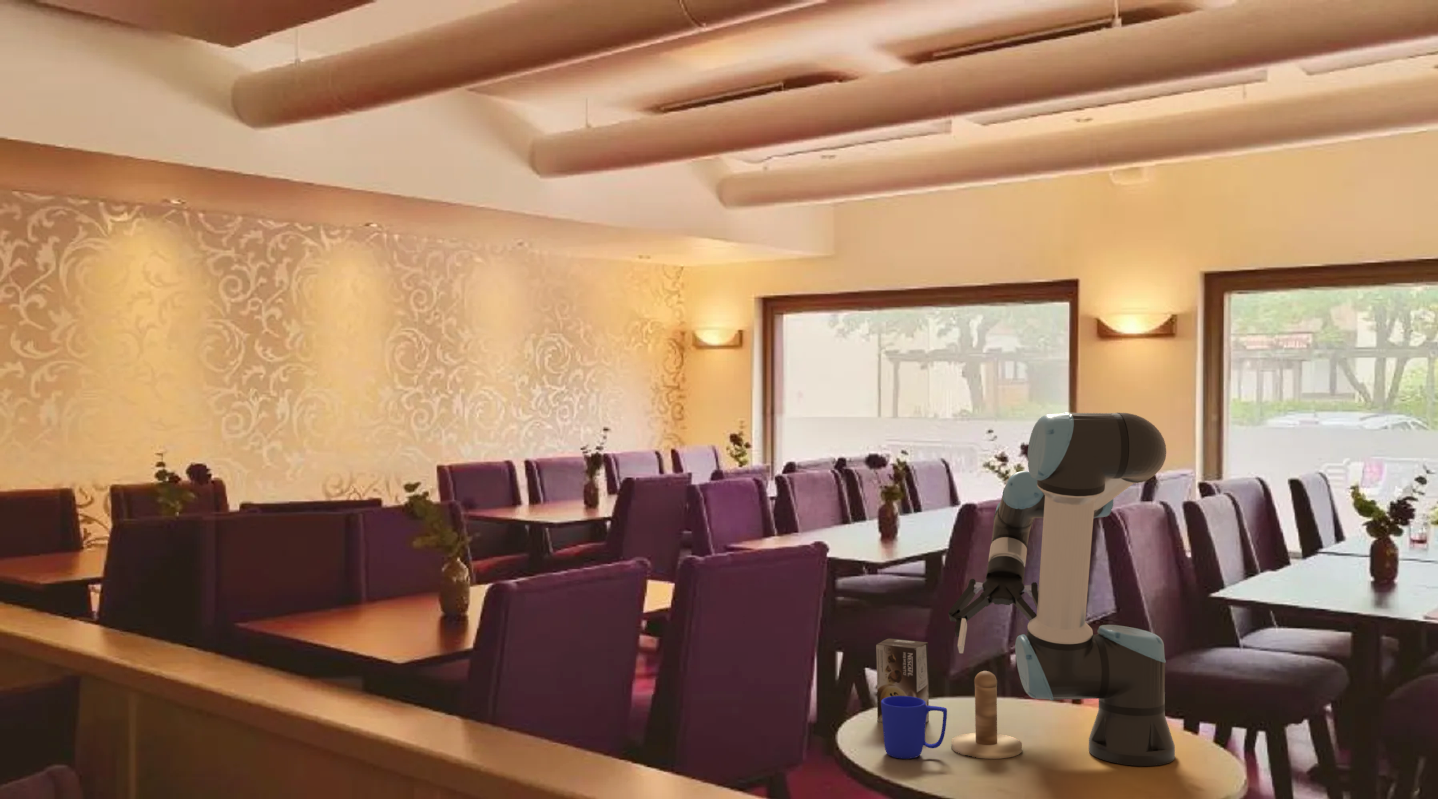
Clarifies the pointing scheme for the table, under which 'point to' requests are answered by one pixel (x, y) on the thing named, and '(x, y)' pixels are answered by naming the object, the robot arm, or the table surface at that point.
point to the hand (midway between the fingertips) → (995, 652)
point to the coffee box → (902, 671)
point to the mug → (907, 725)
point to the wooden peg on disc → (986, 725)
